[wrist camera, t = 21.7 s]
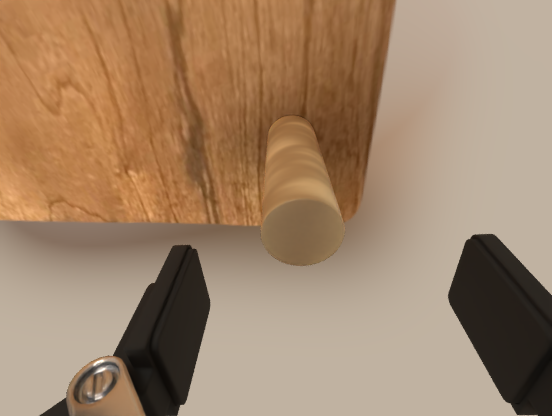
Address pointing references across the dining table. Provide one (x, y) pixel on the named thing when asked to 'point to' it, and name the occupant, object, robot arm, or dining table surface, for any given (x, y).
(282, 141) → the beige marbled cylinder
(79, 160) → the dining table surface
